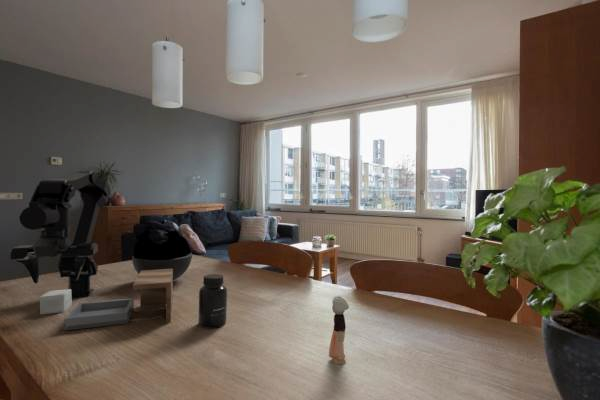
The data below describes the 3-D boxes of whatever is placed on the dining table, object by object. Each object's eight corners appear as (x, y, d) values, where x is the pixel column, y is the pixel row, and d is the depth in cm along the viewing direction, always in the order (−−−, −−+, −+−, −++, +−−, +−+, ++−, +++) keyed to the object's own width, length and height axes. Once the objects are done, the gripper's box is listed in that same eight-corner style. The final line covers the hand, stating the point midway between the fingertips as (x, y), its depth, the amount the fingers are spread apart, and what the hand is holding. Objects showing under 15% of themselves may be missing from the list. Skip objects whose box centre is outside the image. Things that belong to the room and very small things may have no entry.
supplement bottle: (219, 330, 76) (219, 280, 76) (193, 327, 77) (193, 278, 77) (231, 319, 83) (231, 273, 82) (206, 317, 84) (207, 271, 84)
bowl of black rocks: (203, 281, 118) (203, 230, 117) (151, 294, 102) (151, 236, 101) (172, 272, 130) (172, 226, 129) (121, 283, 113) (121, 231, 113)
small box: (48, 307, 90) (48, 290, 90) (72, 305, 91) (72, 288, 91) (39, 314, 84) (38, 296, 84) (64, 312, 86) (64, 294, 86)
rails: (73, 317, 83) (73, 316, 83) (168, 307, 91) (168, 306, 91) (62, 329, 75) (62, 328, 75) (167, 317, 83) (167, 316, 83)
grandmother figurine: (325, 350, 67) (326, 290, 66) (343, 350, 67) (344, 290, 67) (332, 371, 59) (333, 303, 59) (352, 370, 59) (353, 303, 59)
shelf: (140, 305, 91) (140, 270, 91) (172, 302, 94) (172, 268, 94) (132, 326, 77) (133, 285, 77) (170, 322, 80) (170, 282, 80)
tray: (79, 313, 85) (79, 303, 85) (134, 308, 89) (134, 298, 89) (64, 330, 74) (64, 318, 74) (127, 323, 79) (127, 312, 79)
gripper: (-3, 229, 77) (-3, 293, 77) (87, 227, 83) (87, 286, 83) (19, 225, 87) (20, 281, 88) (98, 223, 93) (98, 276, 94)
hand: (56, 281), depth 88 cm, fingers open, 9 cm apart
